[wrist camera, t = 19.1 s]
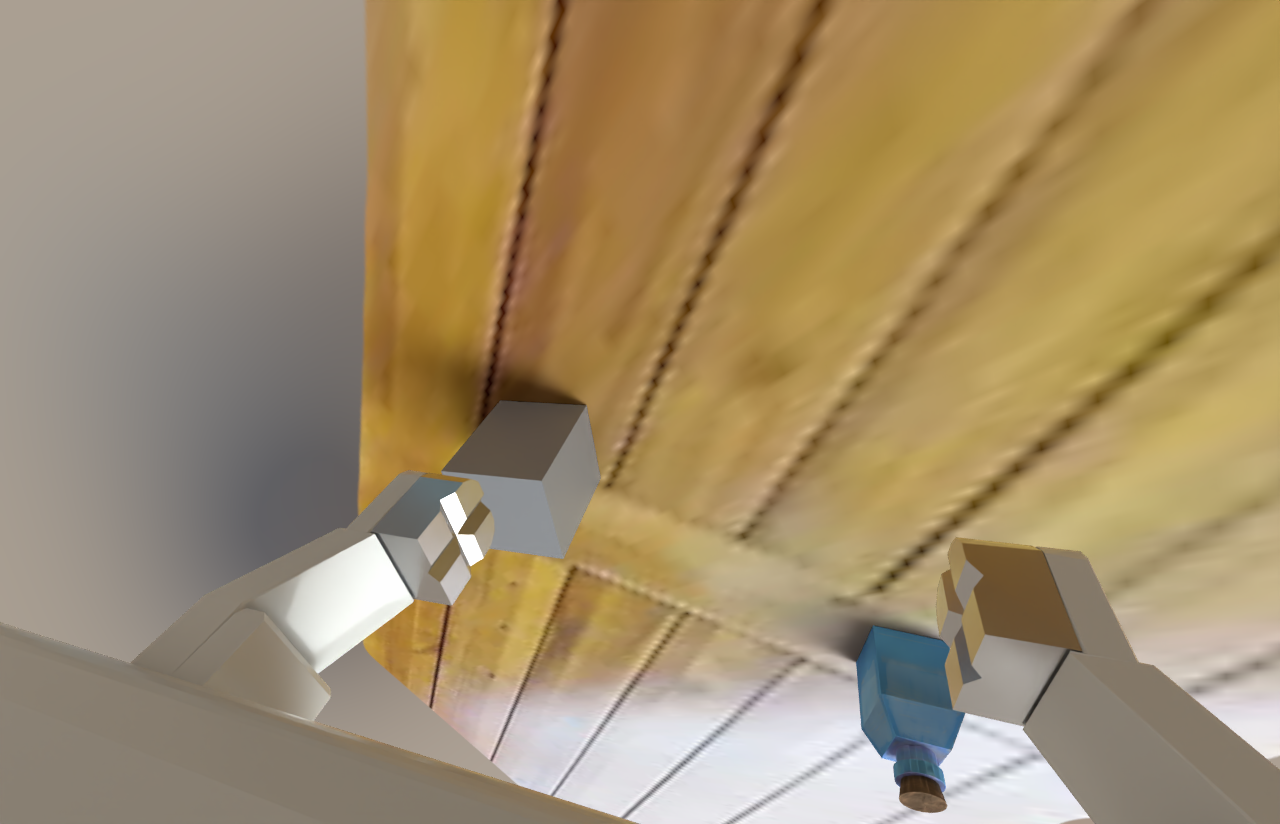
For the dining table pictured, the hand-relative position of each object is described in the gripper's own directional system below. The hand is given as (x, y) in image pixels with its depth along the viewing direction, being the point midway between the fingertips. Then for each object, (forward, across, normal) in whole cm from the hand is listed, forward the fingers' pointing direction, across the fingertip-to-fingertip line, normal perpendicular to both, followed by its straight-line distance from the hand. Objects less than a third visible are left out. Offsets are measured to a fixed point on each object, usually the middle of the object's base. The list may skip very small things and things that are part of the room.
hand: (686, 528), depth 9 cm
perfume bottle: (+25, -12, +41) cm, 50 cm away
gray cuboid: (+24, +18, +19) cm, 36 cm away
